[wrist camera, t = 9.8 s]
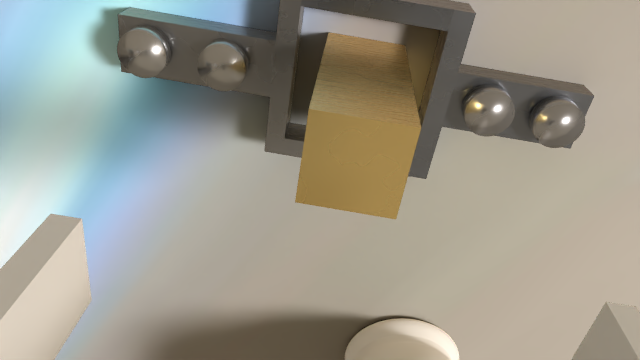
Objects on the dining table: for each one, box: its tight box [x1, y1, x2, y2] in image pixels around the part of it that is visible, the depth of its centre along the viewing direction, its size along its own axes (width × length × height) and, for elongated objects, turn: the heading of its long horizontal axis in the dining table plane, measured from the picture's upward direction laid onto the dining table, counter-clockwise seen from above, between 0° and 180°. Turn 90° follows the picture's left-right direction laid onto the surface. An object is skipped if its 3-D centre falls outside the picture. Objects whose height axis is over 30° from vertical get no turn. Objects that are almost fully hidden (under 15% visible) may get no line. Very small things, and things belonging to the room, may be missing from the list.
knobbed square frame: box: [117, 0, 594, 179], centre depth 26 cm, size 24×9×2 cm, turn 82°
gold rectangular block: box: [295, 32, 421, 219], centre depth 23 cm, size 4×4×10 cm
